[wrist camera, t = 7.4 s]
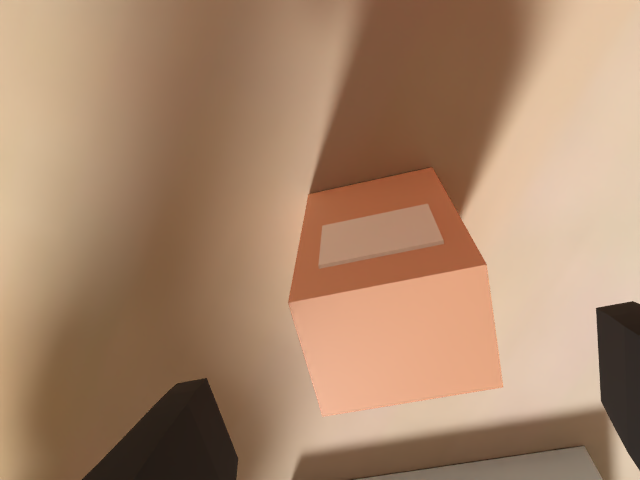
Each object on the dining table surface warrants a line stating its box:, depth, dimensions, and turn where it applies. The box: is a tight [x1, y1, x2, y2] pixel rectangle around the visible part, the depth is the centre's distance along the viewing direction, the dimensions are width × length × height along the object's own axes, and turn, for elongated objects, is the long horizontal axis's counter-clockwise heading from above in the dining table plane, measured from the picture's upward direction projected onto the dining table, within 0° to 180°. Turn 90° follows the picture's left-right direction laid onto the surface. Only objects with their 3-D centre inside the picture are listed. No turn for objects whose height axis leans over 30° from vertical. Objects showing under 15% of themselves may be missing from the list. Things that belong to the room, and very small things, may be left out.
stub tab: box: [288, 167, 503, 417], centre depth 14 cm, size 4×3×7 cm
